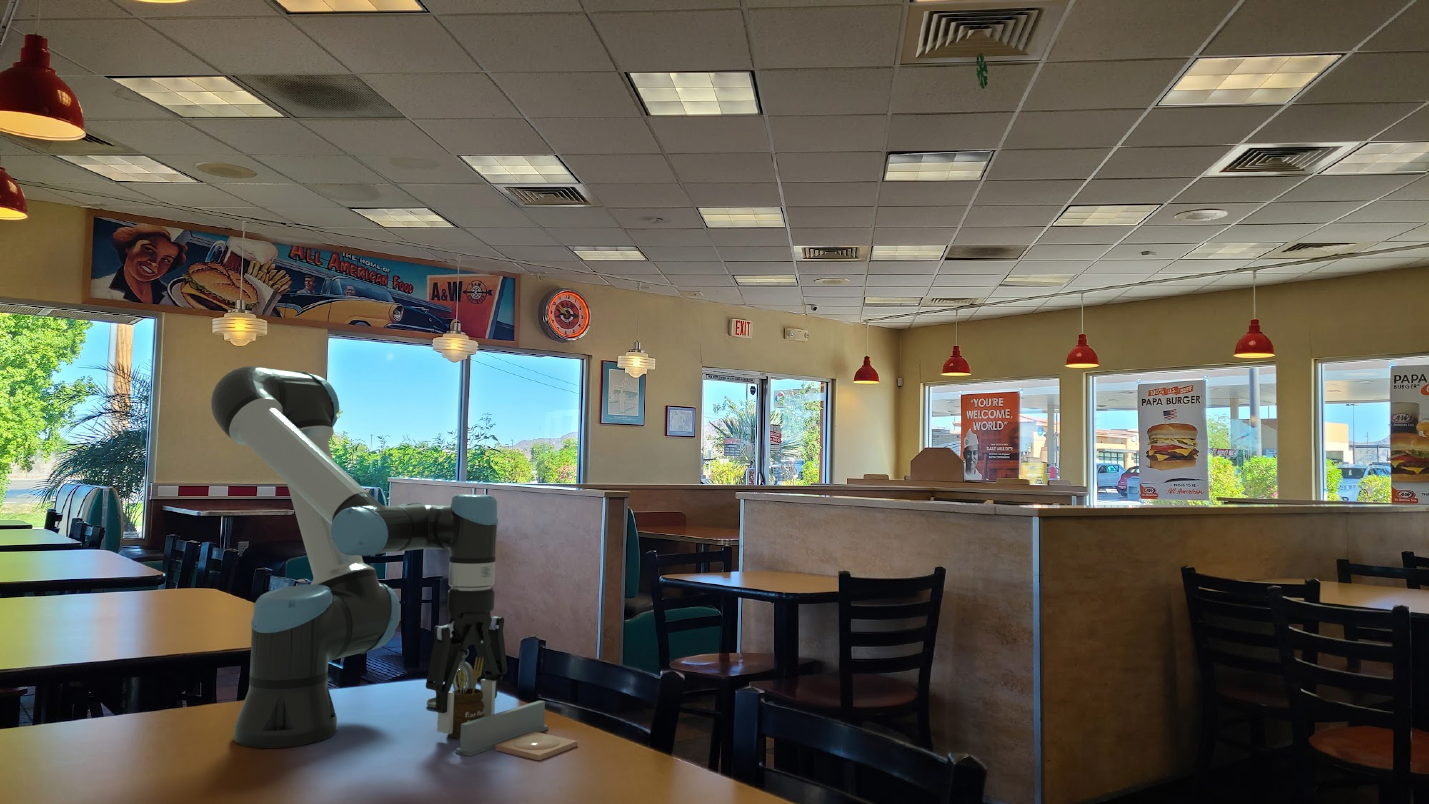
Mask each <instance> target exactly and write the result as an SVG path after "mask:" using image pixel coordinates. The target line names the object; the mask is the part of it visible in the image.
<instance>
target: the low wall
mask: <svg viewBox="0 0 1429 804" xmlns="http://www.w3.org/2000/svg"><path fill="white" fill-rule="evenodd" d="M545 705H546V701H544V700H536V701H534V702H530V703H527V704H523V705H520V706H517V707H513V708H509V709H506V710H503V711H499V712H497V713H494V714H493V715H489V716H486V717H483V718H479V719H476V720H473V721H469V722H466V723H463V724H461V736H460V739H459V741H460V742H459V747H458V748H455V753H456V754H459V755H463V756H467V757H471V756H474V755H477V754H480V753H483V752H486V751H489V750H492V749H496V745H497V744H500V743H503V742H506V741H509V740H512V739H515V738H518V737H521V736H523V735H526V734H529V733H532V732H538V733H542V732H544V731H548V730H549V725H546V724H545V709H546V708H545V707H546V706H545Z"/></svg>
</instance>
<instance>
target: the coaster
mask: <svg viewBox="0 0 1429 804" xmlns="http://www.w3.org/2000/svg"><path fill="white" fill-rule="evenodd" d="M575 747H578V740H574V739H569V738H565V737H561V736H555V735H552V734H547V733H542V732H539V733H538V732H532V733H529V734H526V735H523V736H521V737H518V738H515V739H512V740H509V741H506V742H503V743H500V744H497V745H496V747H495V751H498V752H502V753H506V754H510V755H515V756H517V757H518V756H519V757H523V758H526V759H532V760H536V761H541V760H544V759H546V758H549V757H553V756H555V755H557V754H561V753H563V752H566V751H568V750H571V749H573V748H575Z"/></svg>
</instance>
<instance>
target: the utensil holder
mask: <svg viewBox="0 0 1429 804" xmlns="http://www.w3.org/2000/svg"><path fill="white" fill-rule="evenodd" d="M480 660H481V657H479V658H478V656H476V657H475V661H474V665H473V676H474V677H475V681H474V687H473V688H465V684H464V688H462V686H461V689H457V688H456V690H455V689H454V688H453V687H454V686H453V685H452V688H453V690H451V691H452V692H454V708H453V733H451V734H447V735H448V736H449V737H450V738H452V739H456V740H460V736H461V724H463V723H466V722H469V721H473V720H476V719H479V718H483V717H485V706H484V703H483V701H482V699H483V691H482V690H480V689H481V688H476V687H477V683H478V678H480V677H481V676H482V672H483V670H482V666H483V660H484V658H482V661H481V664H480ZM457 670H459V671H460V669H457ZM462 670H463V669H462ZM464 671H465V670H464ZM464 671H463V672H464ZM465 672H466V671H465ZM456 673H457V672H456ZM464 674H465V673H464ZM466 674H467V673H466ZM460 678H461V675H460ZM464 680H467V679H466V676H464ZM454 682H456V676H455V680H454ZM459 683H460V680H459ZM466 684H468V680H467V683H466ZM455 687H456V686H455Z"/></svg>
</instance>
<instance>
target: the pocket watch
mask: <svg viewBox="0 0 1429 804" xmlns="http://www.w3.org/2000/svg"><path fill="white" fill-rule="evenodd" d="M466 652H467V654H466V653H465V652H464V653H463V656H462V659H461V661H460V664H459V667H458V669H460V671H459V670H457V673H456V675H455V676H456V682H454V680H455V678H454V680H453V683H452V688H453V690H454V689H455V690H456V688H457V689H461V686H462V688H473V687H474V681H475V677H474V676H473V670H474V668H473V667H472V665H471V664H470V663H469V662H467V661H466V660H465V659H466V658H467V657H468V656H469V654H470V651H469V648H467V650H466ZM462 669H463V670H462ZM464 670H465V671H466V672H465V671H464ZM463 671H464V672H463ZM464 673H465V674H464ZM466 673H467V674H466ZM460 675H461V678H460ZM464 676H465V677H466V679H465V680H464ZM459 680H460V683H459ZM467 680H468V684H467ZM464 684H465V687H464ZM453 686H454V687H453ZM455 686H456V687H455ZM426 706H427V707H429V708H433V709H436V696H435V697H432V698H428V699H427V700H426Z"/></svg>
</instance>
